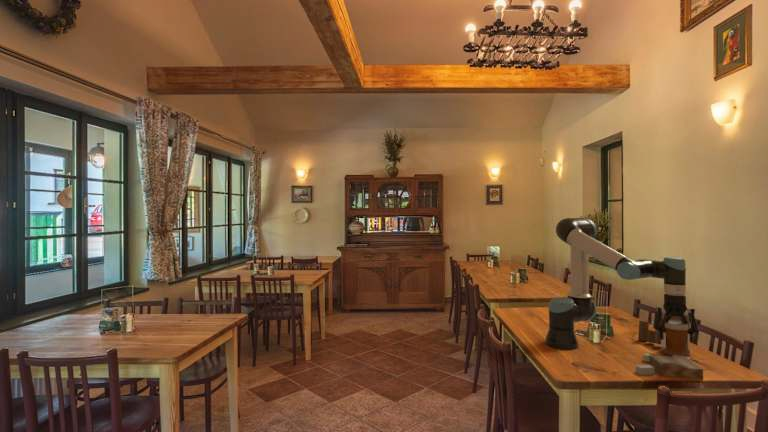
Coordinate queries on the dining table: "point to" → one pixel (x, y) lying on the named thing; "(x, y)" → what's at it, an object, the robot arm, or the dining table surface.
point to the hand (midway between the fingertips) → (675, 347)
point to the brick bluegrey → (645, 369)
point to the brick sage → (646, 357)
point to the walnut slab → (676, 367)
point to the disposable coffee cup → (676, 336)
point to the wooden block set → (648, 333)
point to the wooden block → (687, 352)
